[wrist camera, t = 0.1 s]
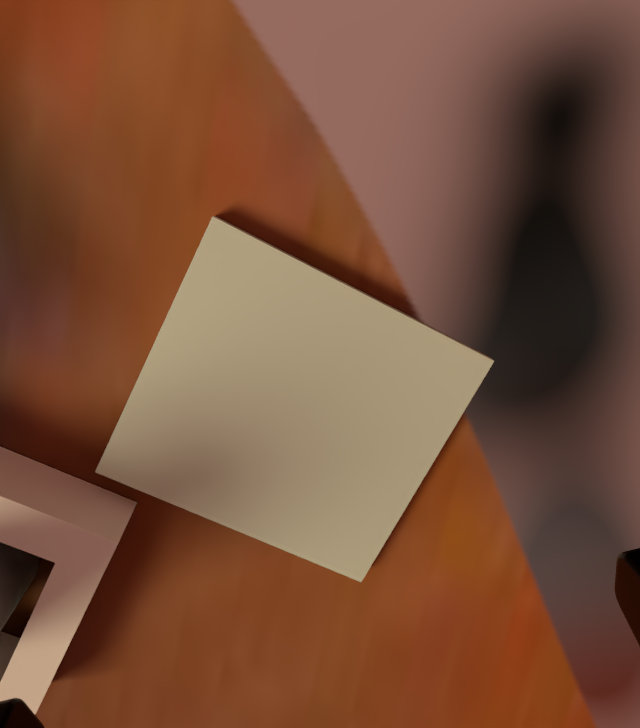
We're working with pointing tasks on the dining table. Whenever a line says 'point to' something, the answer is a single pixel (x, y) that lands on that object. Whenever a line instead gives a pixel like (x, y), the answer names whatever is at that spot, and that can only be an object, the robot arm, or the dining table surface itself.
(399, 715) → the dining table surface
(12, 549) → the peg
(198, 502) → the pad
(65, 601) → the pocket block
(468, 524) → the dining table surface
